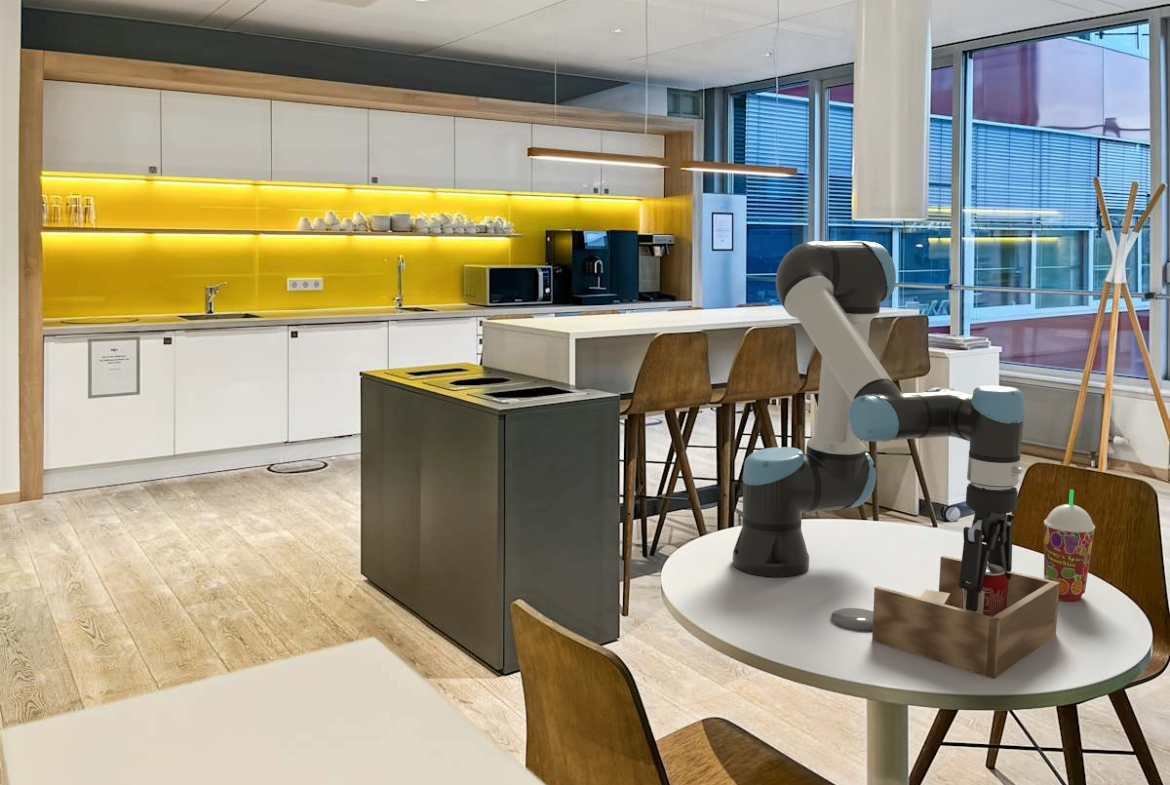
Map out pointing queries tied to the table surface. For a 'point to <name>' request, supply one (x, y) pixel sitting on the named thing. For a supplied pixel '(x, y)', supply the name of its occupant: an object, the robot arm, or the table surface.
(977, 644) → the open wooden box
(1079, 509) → the smoothie
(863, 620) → the coaster
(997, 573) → the soda can
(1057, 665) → the table surface
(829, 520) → the table surface
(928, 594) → the offcut top
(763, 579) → the table surface
